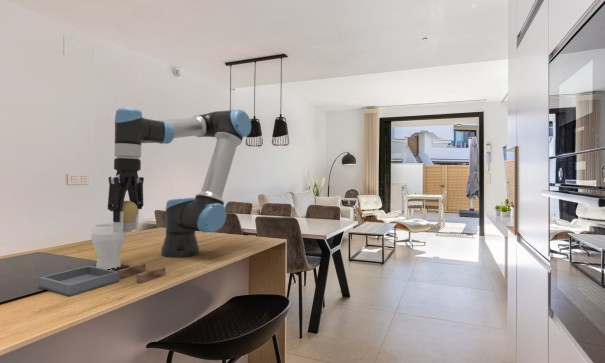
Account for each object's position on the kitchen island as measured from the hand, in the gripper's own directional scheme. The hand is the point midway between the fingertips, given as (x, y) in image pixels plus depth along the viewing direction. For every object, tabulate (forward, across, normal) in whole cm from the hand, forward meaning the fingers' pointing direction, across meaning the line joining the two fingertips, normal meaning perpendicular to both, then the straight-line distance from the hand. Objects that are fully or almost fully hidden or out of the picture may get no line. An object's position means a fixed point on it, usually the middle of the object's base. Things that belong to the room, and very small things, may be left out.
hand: (125, 230), depth 108 cm
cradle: (+15, -4, +3) cm, 16 cm away
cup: (+16, -11, -14) cm, 24 cm away
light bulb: (+1, 0, 0) cm, 1 cm away
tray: (+16, +8, -9) cm, 20 cm away
